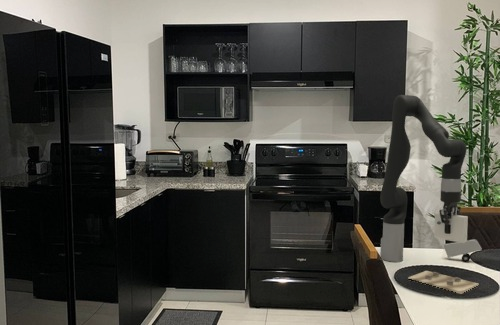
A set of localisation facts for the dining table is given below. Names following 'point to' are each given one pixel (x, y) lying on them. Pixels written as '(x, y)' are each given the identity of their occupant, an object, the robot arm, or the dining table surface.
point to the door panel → (452, 228)
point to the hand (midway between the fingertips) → (449, 232)
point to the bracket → (462, 249)
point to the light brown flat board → (444, 281)
